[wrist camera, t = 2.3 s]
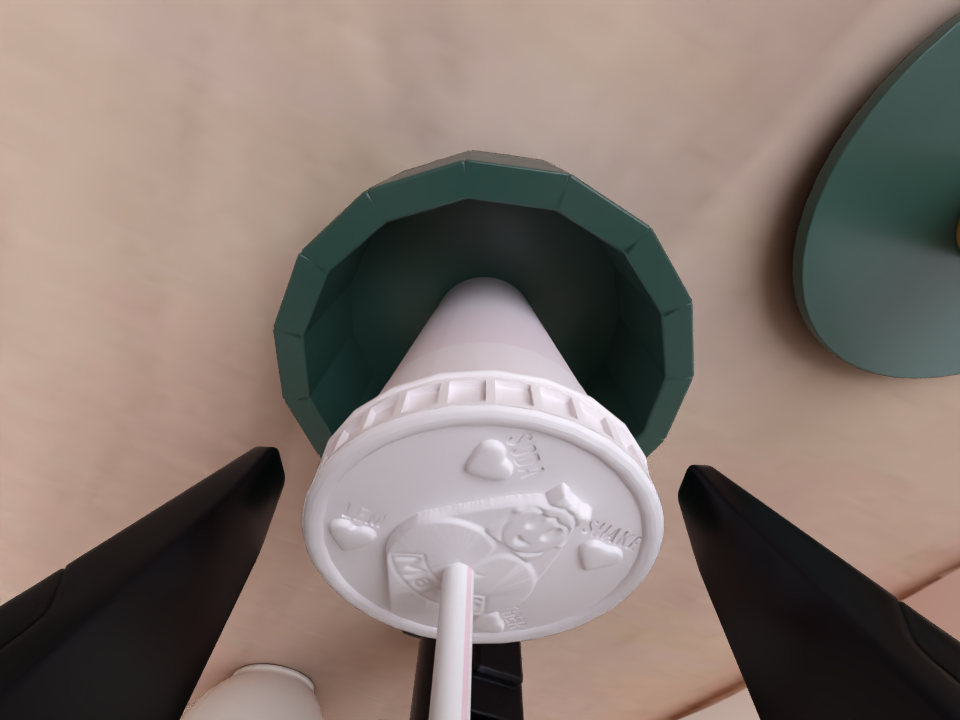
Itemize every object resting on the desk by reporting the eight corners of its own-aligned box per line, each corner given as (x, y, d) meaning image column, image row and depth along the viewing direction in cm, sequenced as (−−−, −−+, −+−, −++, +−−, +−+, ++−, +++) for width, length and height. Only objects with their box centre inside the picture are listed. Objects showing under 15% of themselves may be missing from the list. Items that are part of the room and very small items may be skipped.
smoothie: (365, 316, 15) (-86, 1014, 3) (492, 197, 13) (565, 944, 1) (477, 418, 18) (460, 1048, 6) (602, 330, 16) (1016, 1045, 3)
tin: (528, 470, 20) (539, 562, 15) (294, 367, 17) (232, 444, 13) (704, 265, 15) (791, 319, 10) (411, 72, 12) (371, 41, 8)
